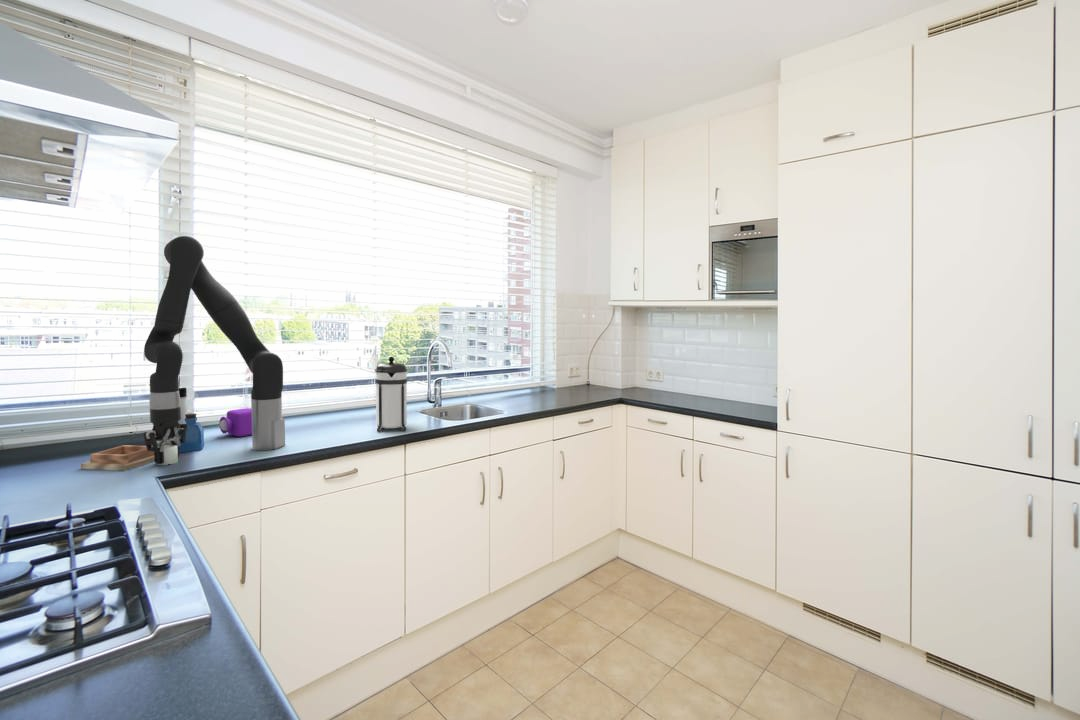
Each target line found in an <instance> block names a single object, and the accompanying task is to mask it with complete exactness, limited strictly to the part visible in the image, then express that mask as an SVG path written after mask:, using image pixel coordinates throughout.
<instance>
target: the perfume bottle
mask: <svg viewBox="0 0 1080 720" xmlns="http://www.w3.org/2000/svg"><path fill="white" fill-rule="evenodd" d="M185 416H186V418H185V422H186V423H185V424H187V430H186V438H185V442H184V443H181V445H180V446H179V453H185V452H186V453H187V452H199V451H202V450H203V449H204V447H205V437H204V434H205V429H204V427H203V426H202V425H201V423H200V422H197V420H198V417H197V413H194V412H193V413H192V412H191V413H188V414H185ZM180 439H181V435H180Z"/></svg>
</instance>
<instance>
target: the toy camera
mask: <svg viewBox="0 0 1080 720" xmlns="http://www.w3.org/2000/svg"><path fill="white" fill-rule="evenodd" d="M218 425H219V429H220V432H221V433H222V434H224V435H225V434H228V435H231V436H234V437H239V438H242V437H246V436H252V410H251V408H250V407H246V408H239V409H232V410H228V411H227V412H226V417H225V416H221V417H220V419H219V423H218Z"/></svg>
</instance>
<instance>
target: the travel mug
mask: <svg viewBox="0 0 1080 720" xmlns="http://www.w3.org/2000/svg"><path fill="white" fill-rule="evenodd" d="M179 394H180V405H181V420H180V421H178V422H179V424H185V423H186V422H185V418H186V416H185V414H189V413H188V393H187V387H179ZM166 445H170V442H169V441H168V440H167V443H166Z"/></svg>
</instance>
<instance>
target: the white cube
mask: <svg viewBox="0 0 1080 720" xmlns="http://www.w3.org/2000/svg"><path fill="white" fill-rule="evenodd" d="M163 451H164V463H162V464H156V465H157V466H169V465H168V464H171V465H174V463H175V464H177V463H179V458H178V449H177V445H167V444H165V445H164V449H163Z"/></svg>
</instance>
